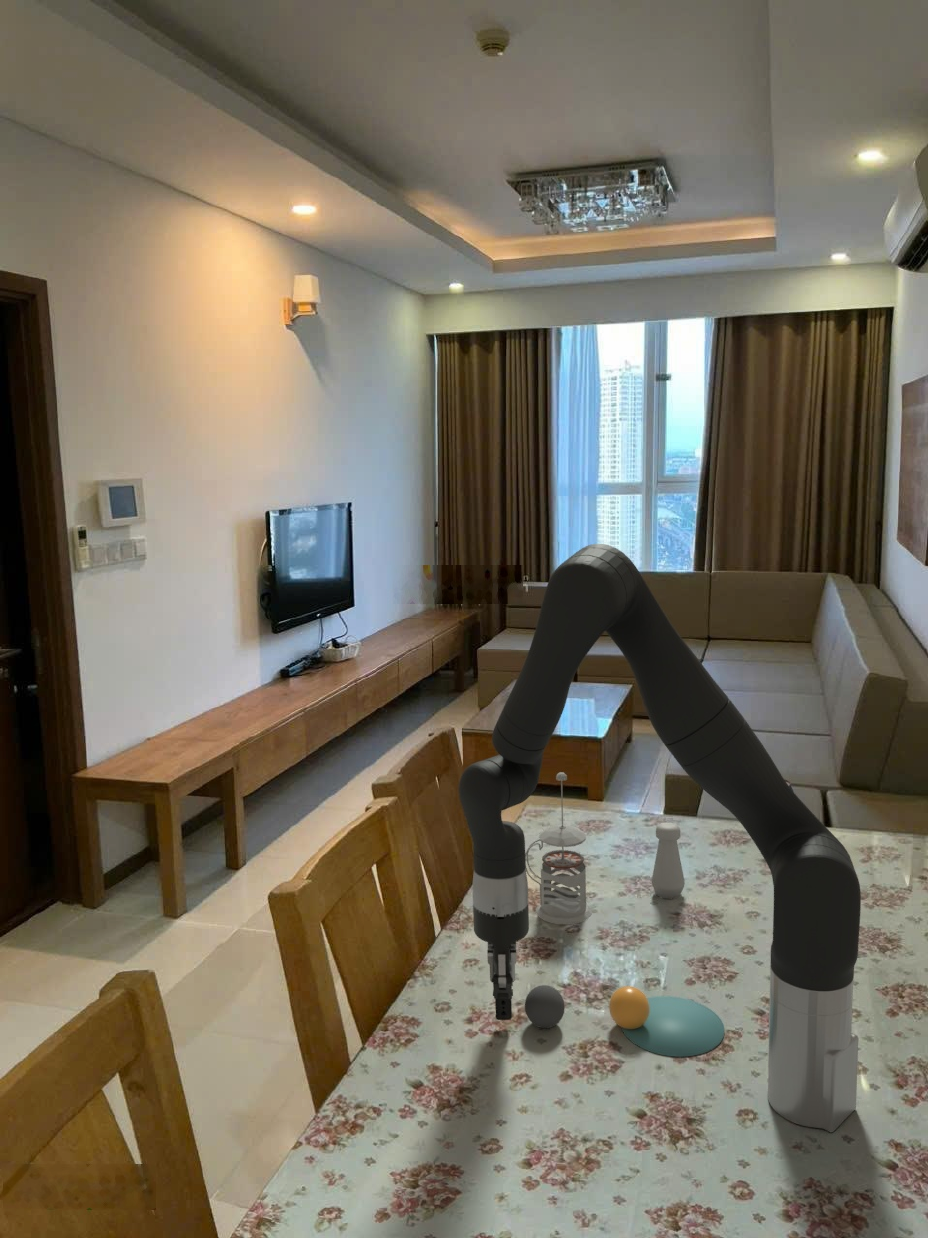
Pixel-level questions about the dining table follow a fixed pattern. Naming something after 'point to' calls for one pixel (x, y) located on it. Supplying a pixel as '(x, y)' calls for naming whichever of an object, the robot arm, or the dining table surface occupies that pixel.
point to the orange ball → (629, 1007)
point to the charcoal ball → (544, 1006)
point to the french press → (562, 874)
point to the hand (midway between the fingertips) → (503, 1017)
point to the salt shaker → (668, 863)
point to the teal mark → (678, 1028)
